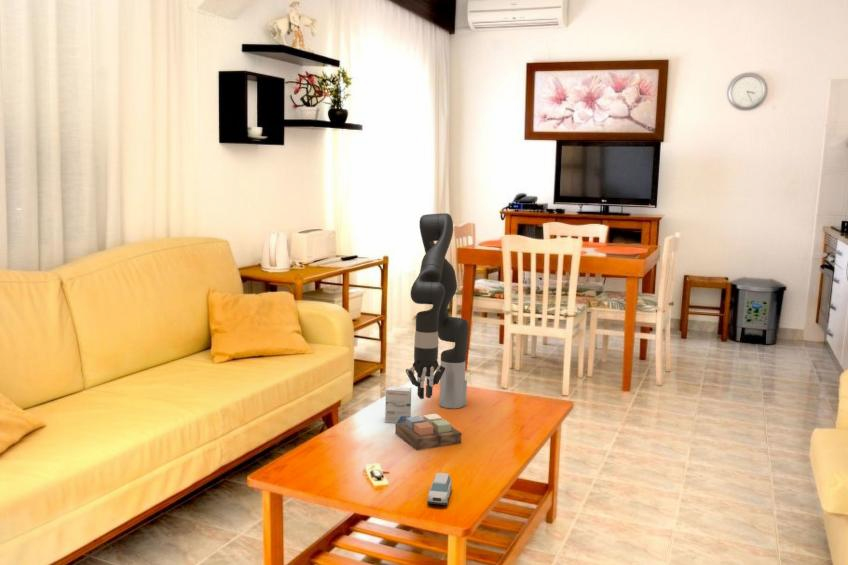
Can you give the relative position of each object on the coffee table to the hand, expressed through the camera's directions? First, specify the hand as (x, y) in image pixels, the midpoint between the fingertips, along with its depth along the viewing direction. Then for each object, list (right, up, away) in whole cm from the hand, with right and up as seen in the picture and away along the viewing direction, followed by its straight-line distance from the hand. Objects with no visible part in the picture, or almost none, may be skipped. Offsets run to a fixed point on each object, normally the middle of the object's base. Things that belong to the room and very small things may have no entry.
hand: (424, 397), depth 239 cm
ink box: (-9, -12, +22) cm, 27 cm away
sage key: (+5, -11, +5) cm, 13 cm away
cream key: (+3, -10, +10) cm, 15 cm away
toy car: (+4, -21, -37) cm, 43 cm away
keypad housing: (+1, -14, +7) cm, 16 cm away
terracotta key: (0, -11, +2) cm, 12 cm away
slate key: (-3, -10, +7) cm, 13 cm away
